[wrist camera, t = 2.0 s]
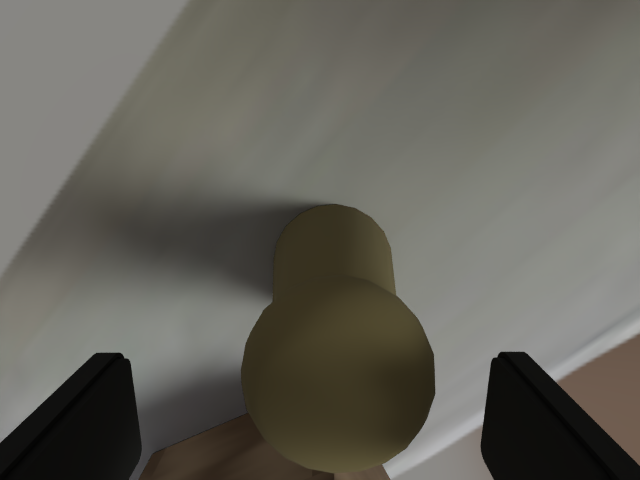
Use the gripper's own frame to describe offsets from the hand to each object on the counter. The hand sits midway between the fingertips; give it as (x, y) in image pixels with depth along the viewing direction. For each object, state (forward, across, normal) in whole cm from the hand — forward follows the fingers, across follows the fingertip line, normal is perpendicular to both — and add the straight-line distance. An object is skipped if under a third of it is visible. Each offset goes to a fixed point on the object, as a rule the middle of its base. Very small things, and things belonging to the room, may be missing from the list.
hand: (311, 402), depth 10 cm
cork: (+10, -1, -1) cm, 10 cm away
